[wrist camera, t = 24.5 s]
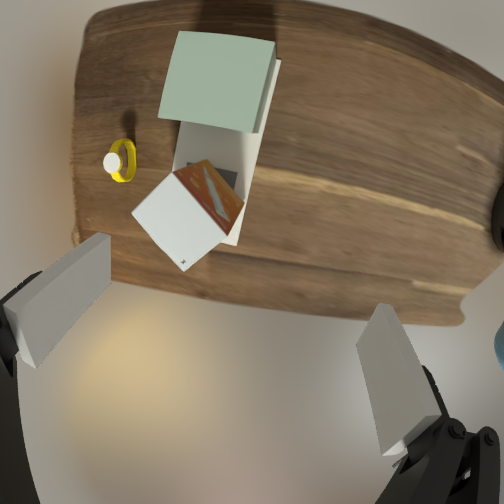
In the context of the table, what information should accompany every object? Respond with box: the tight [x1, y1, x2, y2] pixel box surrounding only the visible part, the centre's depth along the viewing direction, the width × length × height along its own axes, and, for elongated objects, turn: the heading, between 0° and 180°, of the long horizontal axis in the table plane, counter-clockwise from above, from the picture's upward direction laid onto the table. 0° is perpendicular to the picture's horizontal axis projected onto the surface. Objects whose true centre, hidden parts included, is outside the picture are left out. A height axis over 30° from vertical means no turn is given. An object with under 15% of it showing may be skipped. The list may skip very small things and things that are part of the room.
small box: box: [132, 159, 245, 271], centre depth 32 cm, size 8×6×13 cm
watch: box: [103, 138, 137, 182], centre depth 34 cm, size 6×3×6 cm, turn 179°
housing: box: [158, 31, 276, 134], centre depth 28 cm, size 10×10×9 cm
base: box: [172, 59, 281, 246], centre depth 35 cm, size 11×26×1 cm, turn 167°
